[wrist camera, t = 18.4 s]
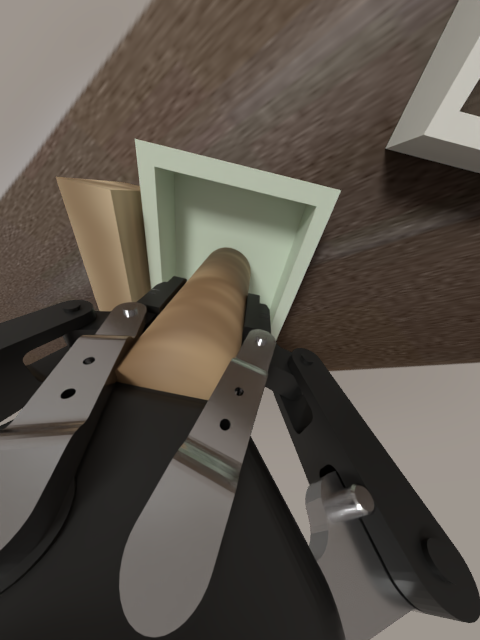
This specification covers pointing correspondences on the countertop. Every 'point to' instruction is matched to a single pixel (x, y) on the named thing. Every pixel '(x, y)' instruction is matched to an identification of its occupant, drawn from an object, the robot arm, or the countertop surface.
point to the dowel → (194, 331)
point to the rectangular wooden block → (109, 238)
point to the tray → (230, 221)
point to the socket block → (446, 98)
